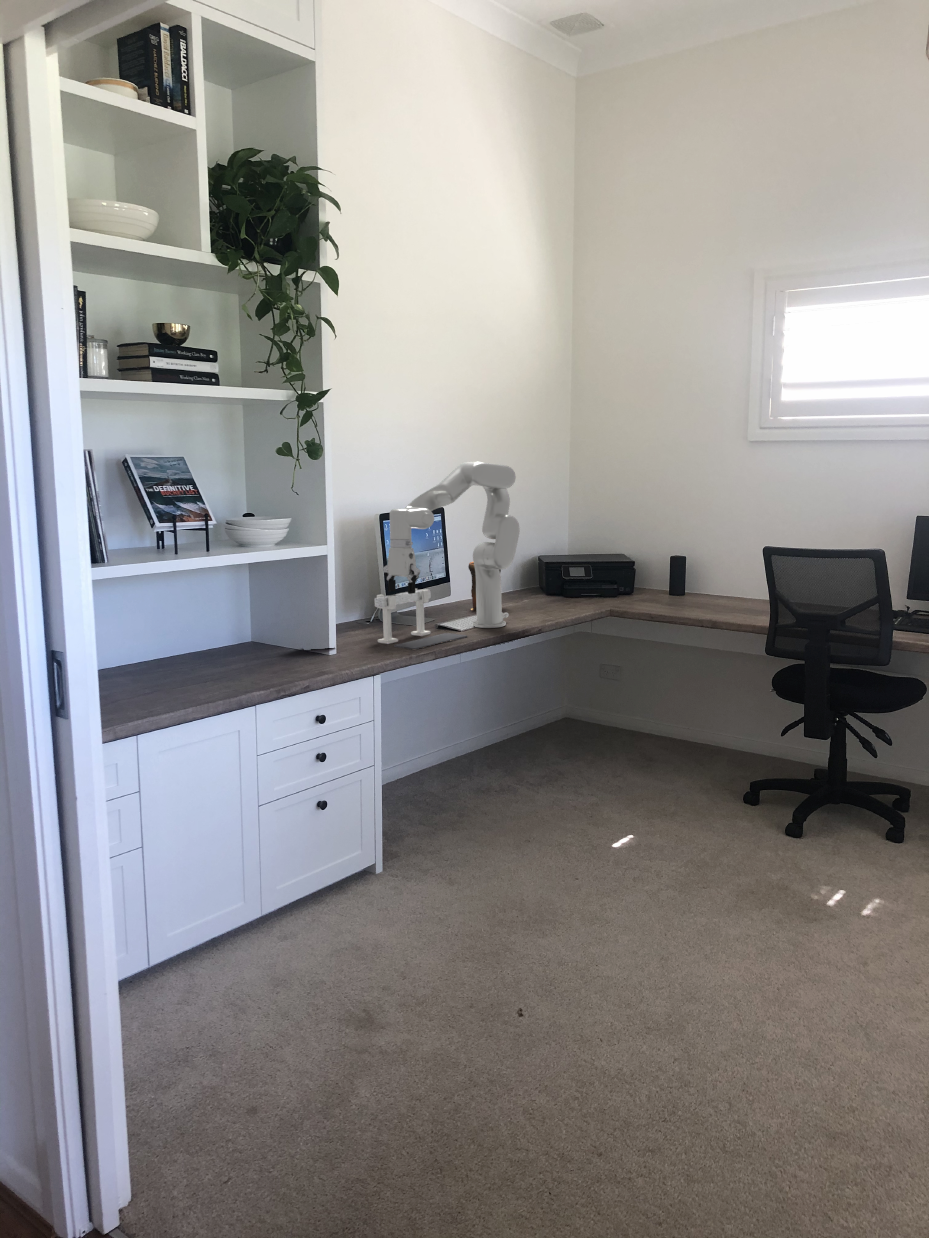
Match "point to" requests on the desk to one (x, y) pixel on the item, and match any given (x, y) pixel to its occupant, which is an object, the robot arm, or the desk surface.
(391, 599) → the hook standards
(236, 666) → the desk surface
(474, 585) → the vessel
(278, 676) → the desk surface
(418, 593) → the rail
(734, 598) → the desk surface
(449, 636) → the mat
